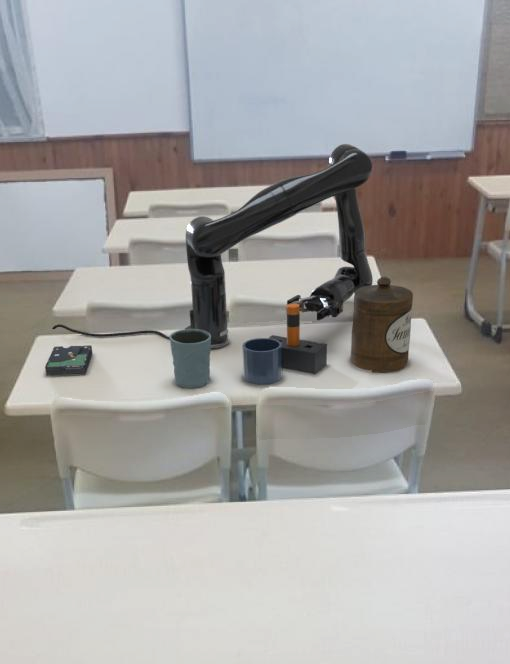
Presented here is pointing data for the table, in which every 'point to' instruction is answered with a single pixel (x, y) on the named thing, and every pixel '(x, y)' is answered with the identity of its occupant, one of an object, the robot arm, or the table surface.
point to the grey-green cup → (191, 357)
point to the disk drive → (69, 360)
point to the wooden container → (381, 327)
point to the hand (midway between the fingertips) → (303, 314)
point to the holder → (303, 355)
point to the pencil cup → (262, 361)
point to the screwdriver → (293, 324)
